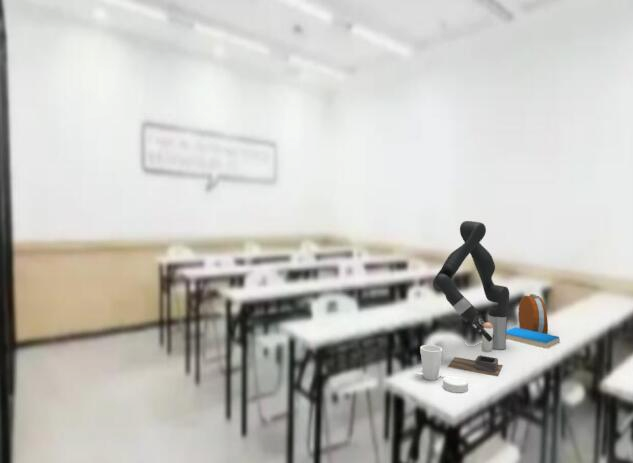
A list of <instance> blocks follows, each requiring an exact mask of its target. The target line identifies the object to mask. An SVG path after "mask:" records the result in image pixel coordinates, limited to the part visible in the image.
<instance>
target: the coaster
mask: <svg viewBox="0 0 633 463" xmlns="http://www.w3.org/2000/svg"><path fill="white" fill-rule="evenodd" d="M442 381H443V382H442V387H443V389H445V390H447V391H449V392H450V393H456V394H457V393H466V392H468V391H469V381H468V380H467V379H466V378H464V377H461V376H457V375H448V376H445V377H444V378H443V379H442Z"/></svg>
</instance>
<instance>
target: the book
mask: <svg viewBox="0 0 633 463" xmlns="http://www.w3.org/2000/svg"><path fill="white" fill-rule="evenodd" d="M506 340H509V341H513V342H518V343H521V344H526V345H529V346H534V347H537V348H538V347H539V348H541V347H542V349H545V348H546V349H549V348H551V347H553V346H555V344H556V345H558V344H560V341H561V340H560V336H558V335H553V334H549V333H547V334H544V333H540V332H535V331H531V330H526V329H521V328H520V327H518V326H517V327H516V326H515V327H512V328H509V329H506ZM557 343H558V344H557Z"/></svg>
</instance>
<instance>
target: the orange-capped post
mask: <svg viewBox="0 0 633 463" xmlns="http://www.w3.org/2000/svg"><path fill="white" fill-rule="evenodd" d="M483 326H484V329H485V330H486V331H487V333H488V334H489V335H490V336H491V337H492V338H493V325H492V324H491V323H489V322H488V321H487V322H486V321H485V323H484V324H483ZM481 337H482V338H481V351H482V352H484V353H492V352H493V349H492V341H493V339H492V340H491V341H490V342H489V341H488V340H487V339H486V338H485V337H484V336H483V335H481Z"/></svg>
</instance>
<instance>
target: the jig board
mask: <svg viewBox="0 0 633 463" xmlns="http://www.w3.org/2000/svg"><path fill="white" fill-rule="evenodd" d="M503 366H504V365H503V364H499V358H497V357H492V356H485V355H481V354H479V355H477V357H476V359H475V360H474V359H470V358H469V359H468V358H464V357H463V358H462V357H458V356H454V357H453V359H451V361H450V362H449V364H448V365H447V368H450V369H455V370H460V371H467V372H470V373H471V372H473V373H475V374H476V373H477V374H483V375H486V376H487V375H488V376H492V377H499V376H500V373H501V371H502V368H503Z"/></svg>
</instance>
